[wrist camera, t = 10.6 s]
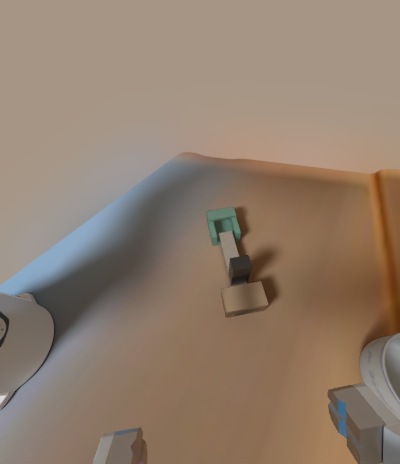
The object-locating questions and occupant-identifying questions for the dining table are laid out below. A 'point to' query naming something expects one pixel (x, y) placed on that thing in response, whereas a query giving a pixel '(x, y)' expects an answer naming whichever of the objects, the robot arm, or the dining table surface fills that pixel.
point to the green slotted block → (222, 223)
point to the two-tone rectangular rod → (234, 260)
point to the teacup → (383, 370)
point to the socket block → (243, 299)
